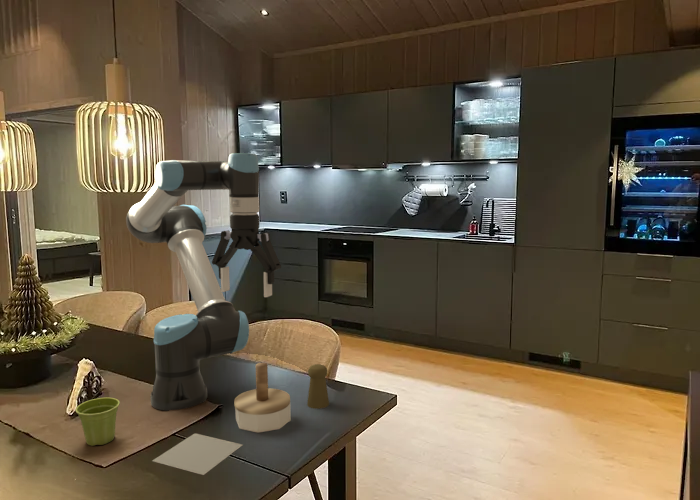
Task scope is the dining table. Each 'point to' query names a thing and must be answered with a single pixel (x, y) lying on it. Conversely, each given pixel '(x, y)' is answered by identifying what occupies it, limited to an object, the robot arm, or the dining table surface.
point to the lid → (262, 396)
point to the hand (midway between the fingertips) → (246, 293)
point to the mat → (198, 453)
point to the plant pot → (98, 420)
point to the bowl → (263, 420)
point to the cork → (317, 387)
